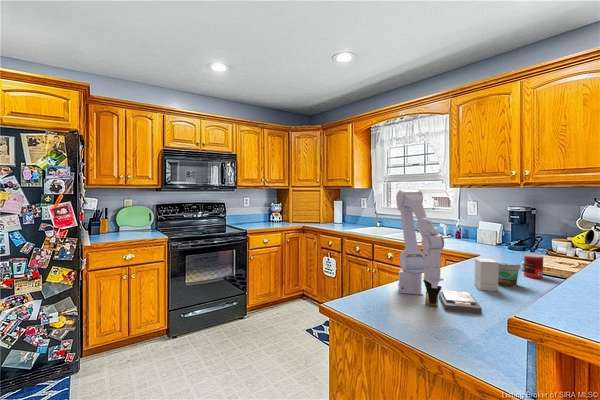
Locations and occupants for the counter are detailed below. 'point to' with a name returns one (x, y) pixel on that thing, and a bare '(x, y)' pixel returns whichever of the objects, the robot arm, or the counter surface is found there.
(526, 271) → the canned food
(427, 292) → the cylinder
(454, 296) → the platform
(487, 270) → the supplement box
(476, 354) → the counter surface
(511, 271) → the food container
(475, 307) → the scale
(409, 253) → the robot arm
